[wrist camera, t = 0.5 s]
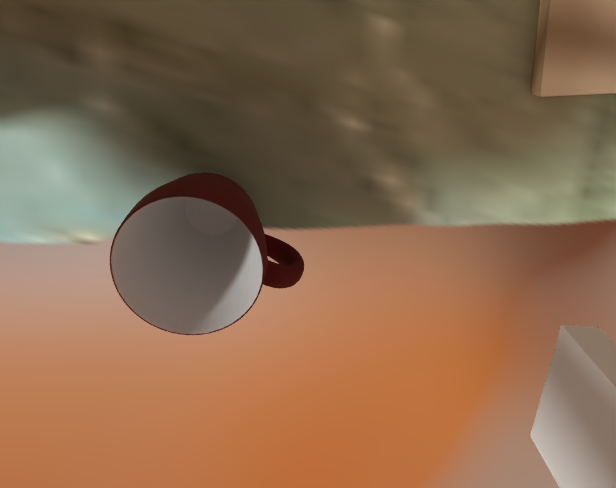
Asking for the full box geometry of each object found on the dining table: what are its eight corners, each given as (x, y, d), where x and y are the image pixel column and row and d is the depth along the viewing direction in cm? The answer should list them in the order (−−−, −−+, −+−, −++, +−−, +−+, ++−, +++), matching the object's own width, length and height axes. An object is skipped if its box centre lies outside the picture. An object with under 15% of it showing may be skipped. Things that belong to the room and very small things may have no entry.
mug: (319, 176, 38) (329, 227, 29) (290, 281, 41) (289, 358, 32) (163, 136, 37) (120, 176, 28) (143, 248, 40) (99, 318, 31)
